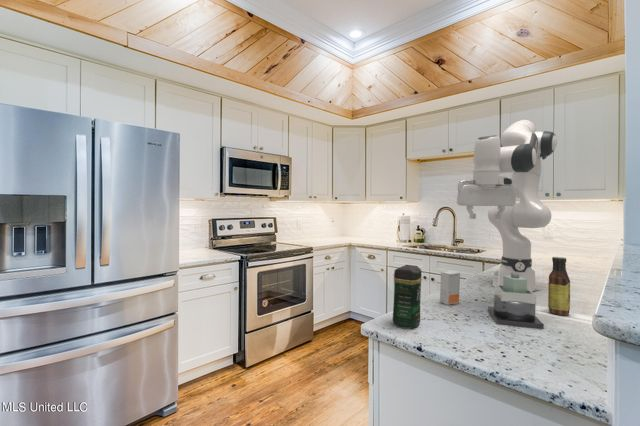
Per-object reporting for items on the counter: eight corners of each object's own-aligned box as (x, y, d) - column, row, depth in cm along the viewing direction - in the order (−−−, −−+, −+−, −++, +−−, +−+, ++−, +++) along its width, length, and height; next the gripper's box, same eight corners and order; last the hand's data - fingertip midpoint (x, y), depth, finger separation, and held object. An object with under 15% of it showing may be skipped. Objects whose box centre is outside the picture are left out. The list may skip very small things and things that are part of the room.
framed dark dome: (487, 310, 117) (488, 282, 117) (529, 314, 114) (529, 286, 113) (496, 324, 104) (497, 293, 104) (543, 329, 100) (544, 296, 100)
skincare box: (447, 305, 123) (448, 274, 122) (439, 302, 127) (440, 271, 126) (459, 303, 125) (460, 272, 125) (451, 300, 129) (451, 270, 129)
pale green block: (502, 296, 111) (503, 271, 111) (515, 295, 112) (516, 271, 111) (513, 300, 106) (514, 274, 105) (526, 300, 106) (527, 274, 106)
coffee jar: (415, 331, 97) (416, 269, 97) (389, 325, 101) (390, 266, 101) (423, 321, 106) (424, 264, 105) (399, 316, 110) (400, 262, 109)
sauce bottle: (573, 317, 112) (575, 259, 111) (553, 315, 113) (555, 258, 112) (563, 310, 118) (565, 256, 117) (544, 309, 119) (545, 255, 119)
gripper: (462, 179, 114) (461, 218, 114) (519, 180, 115) (518, 219, 115) (454, 180, 120) (453, 218, 121) (508, 181, 121) (507, 218, 121)
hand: (485, 218), depth 118 cm, fingers open, 8 cm apart
